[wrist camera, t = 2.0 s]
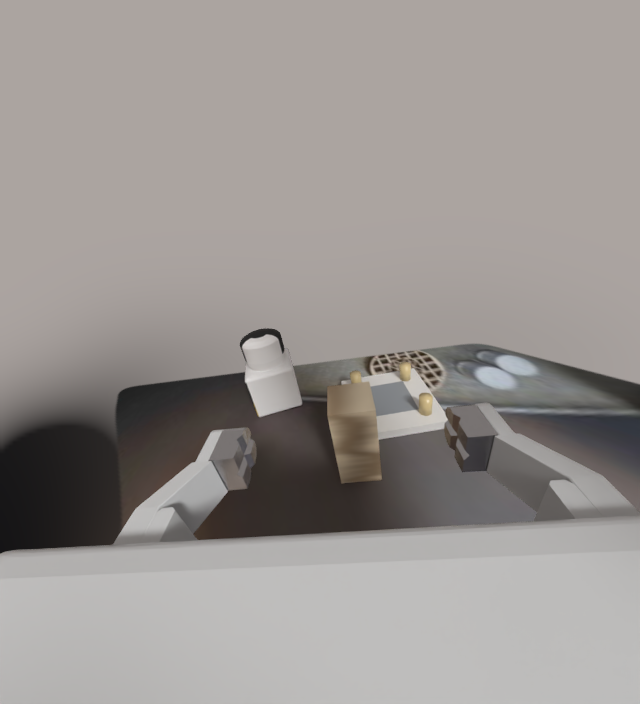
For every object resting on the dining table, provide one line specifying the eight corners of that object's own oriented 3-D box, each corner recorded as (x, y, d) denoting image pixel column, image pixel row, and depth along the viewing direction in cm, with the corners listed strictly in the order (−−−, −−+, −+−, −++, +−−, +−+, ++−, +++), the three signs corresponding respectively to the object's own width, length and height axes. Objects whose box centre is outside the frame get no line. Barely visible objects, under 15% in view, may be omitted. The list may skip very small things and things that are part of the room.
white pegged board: (413, 374, 43) (414, 355, 41) (449, 427, 33) (452, 405, 31) (342, 386, 44) (339, 368, 42) (354, 443, 33) (351, 422, 31)
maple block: (375, 446, 32) (369, 381, 27) (381, 479, 28) (375, 410, 24) (339, 450, 33) (327, 386, 28) (341, 483, 29) (327, 415, 24)
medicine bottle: (257, 391, 47) (235, 331, 41) (296, 381, 47) (280, 320, 42) (258, 418, 40) (232, 351, 35) (303, 405, 41) (285, 338, 35)
